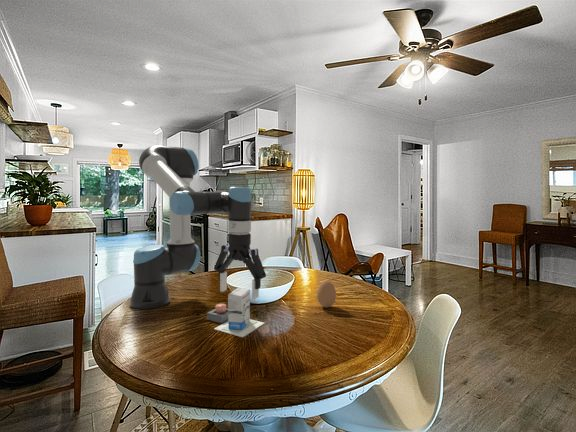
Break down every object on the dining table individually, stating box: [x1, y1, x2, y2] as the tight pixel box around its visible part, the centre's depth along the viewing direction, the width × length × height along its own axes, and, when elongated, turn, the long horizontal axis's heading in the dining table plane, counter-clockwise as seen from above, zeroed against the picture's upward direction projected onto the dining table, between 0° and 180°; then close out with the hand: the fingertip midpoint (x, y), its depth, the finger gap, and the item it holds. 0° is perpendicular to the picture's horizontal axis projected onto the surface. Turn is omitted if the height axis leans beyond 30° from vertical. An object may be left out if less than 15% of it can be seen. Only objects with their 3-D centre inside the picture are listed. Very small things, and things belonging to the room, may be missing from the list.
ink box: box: [227, 287, 251, 330], centre depth 113 cm, size 9×5×12 cm, turn 166°
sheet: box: [213, 318, 266, 338], centre depth 113 cm, size 12×13×1 cm
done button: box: [215, 303, 227, 314], centre depth 120 cm, size 4×4×2 cm
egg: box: [316, 280, 337, 309], centre depth 132 cm, size 8×8×11 cm
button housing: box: [206, 307, 228, 324], centre depth 120 cm, size 7×7×2 cm
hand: (238, 294), depth 113 cm, fingers open, 13 cm apart
